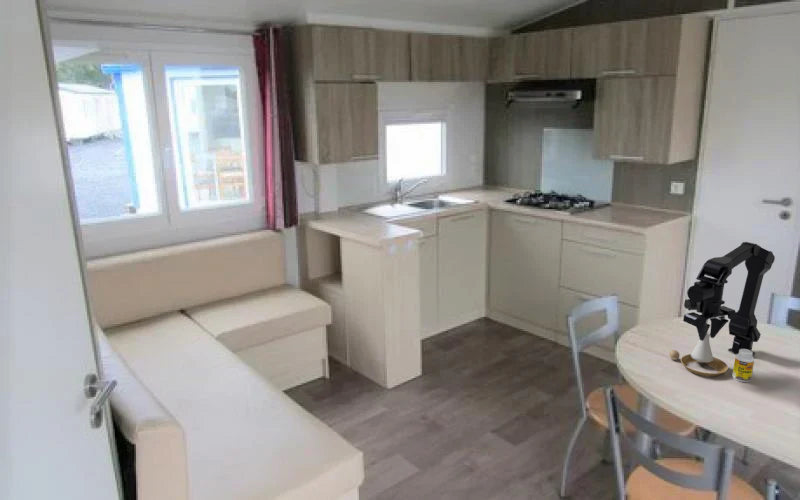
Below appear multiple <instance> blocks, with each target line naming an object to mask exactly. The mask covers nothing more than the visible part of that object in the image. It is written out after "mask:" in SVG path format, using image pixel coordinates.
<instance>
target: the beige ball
mask: <svg viewBox="0 0 800 500" xmlns="http://www.w3.org/2000/svg"><path fill="white" fill-rule="evenodd" d="M680 355H681V354H680V352H679V351H678V350H675V349H673V350H671V351H669V352H668V357H669V358H670V360H673V361H677V360H679V359H680Z"/></svg>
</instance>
